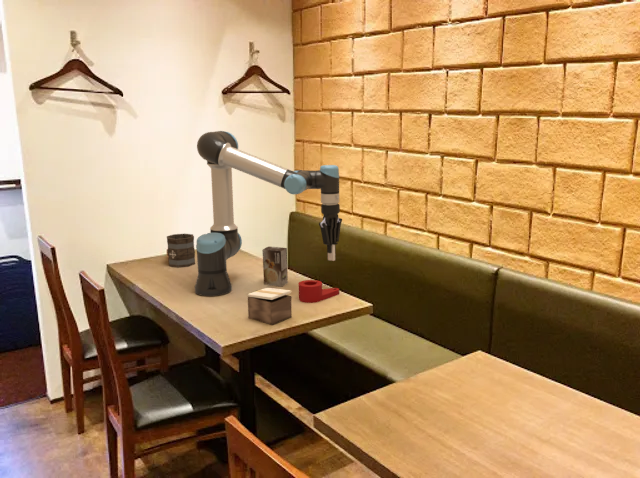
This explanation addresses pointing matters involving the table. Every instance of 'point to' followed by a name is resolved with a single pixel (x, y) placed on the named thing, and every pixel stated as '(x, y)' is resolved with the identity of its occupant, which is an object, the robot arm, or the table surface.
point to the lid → (269, 293)
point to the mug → (181, 250)
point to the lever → (314, 291)
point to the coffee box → (275, 266)
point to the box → (270, 309)
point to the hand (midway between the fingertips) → (331, 259)
